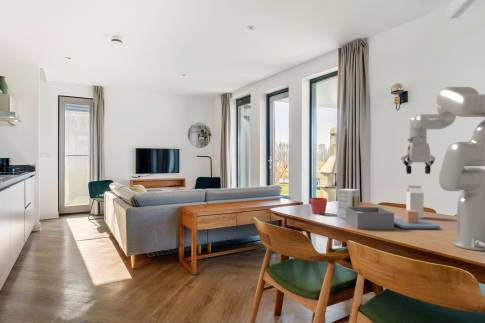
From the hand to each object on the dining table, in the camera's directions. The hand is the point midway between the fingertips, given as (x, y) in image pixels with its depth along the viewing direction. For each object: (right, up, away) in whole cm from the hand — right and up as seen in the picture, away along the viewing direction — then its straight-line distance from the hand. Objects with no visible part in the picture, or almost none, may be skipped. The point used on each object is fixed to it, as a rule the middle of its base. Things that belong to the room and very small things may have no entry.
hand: (418, 173), depth 157 cm
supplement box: (-28, -27, +23) cm, 45 cm away
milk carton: (+12, -27, +24) cm, 38 cm away
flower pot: (-43, -27, +35) cm, 62 cm away
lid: (-3, -28, +2) cm, 28 cm away
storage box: (-25, -27, +3) cm, 37 cm away
